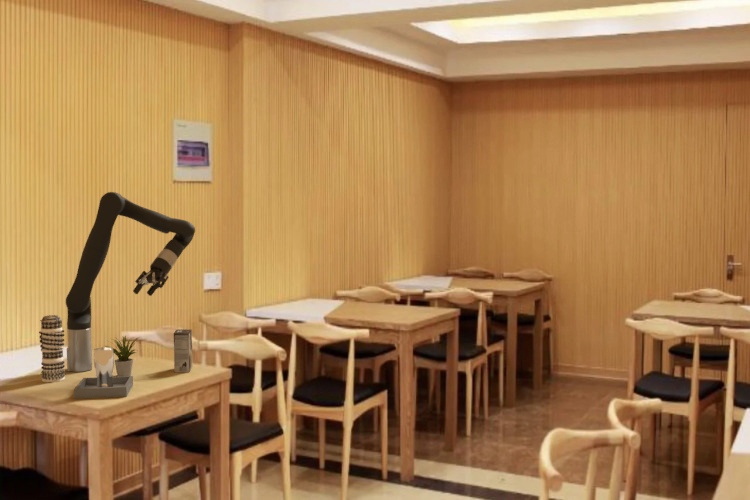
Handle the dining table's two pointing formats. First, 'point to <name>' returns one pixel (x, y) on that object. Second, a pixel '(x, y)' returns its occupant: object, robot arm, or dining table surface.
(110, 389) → the serving tray
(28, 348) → the dining table surface
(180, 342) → the coffee box
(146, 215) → the robot arm
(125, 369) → the house plant
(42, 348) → the decorative candle
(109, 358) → the beer glass
